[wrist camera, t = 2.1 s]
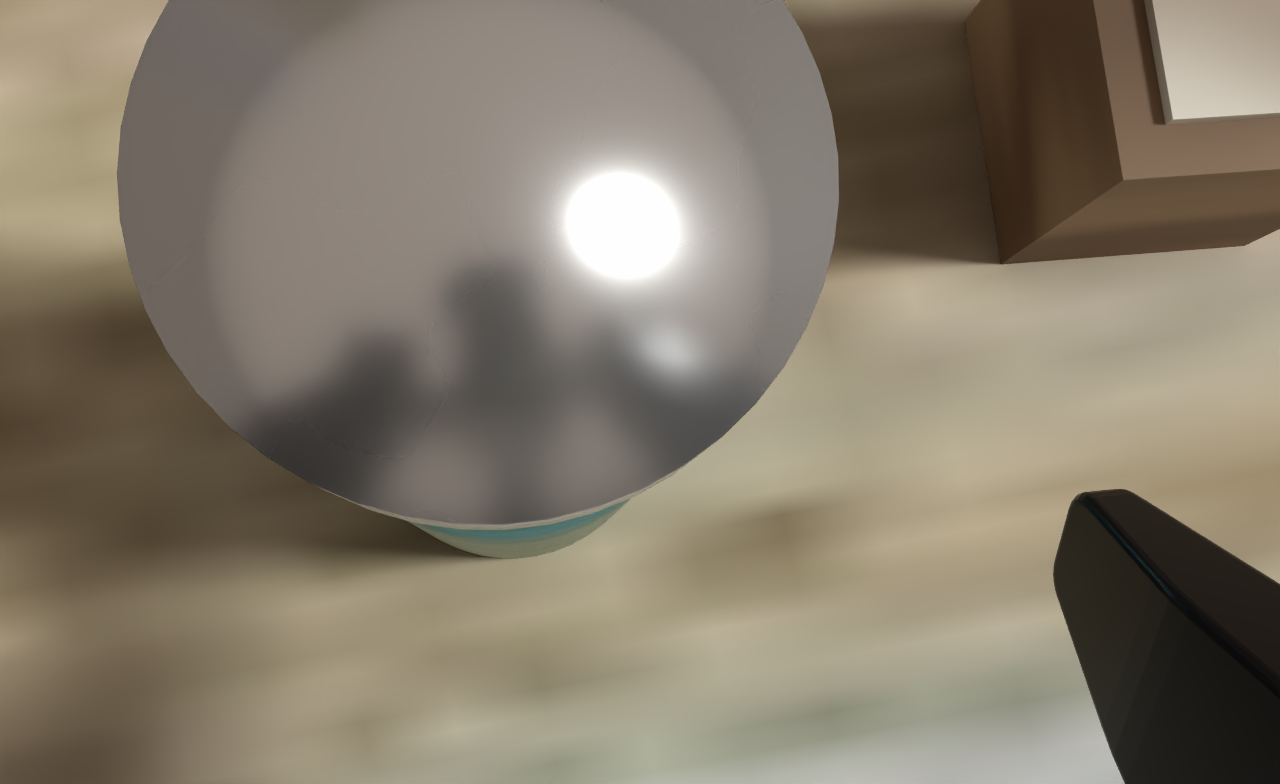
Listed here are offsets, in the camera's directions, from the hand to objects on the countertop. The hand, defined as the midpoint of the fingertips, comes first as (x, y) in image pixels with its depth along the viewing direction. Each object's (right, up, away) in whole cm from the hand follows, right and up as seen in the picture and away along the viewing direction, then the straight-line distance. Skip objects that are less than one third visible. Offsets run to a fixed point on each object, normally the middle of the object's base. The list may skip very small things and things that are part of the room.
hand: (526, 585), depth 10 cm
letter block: (+9, +6, +12) cm, 16 cm away
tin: (-1, +1, +10) cm, 11 cm away
